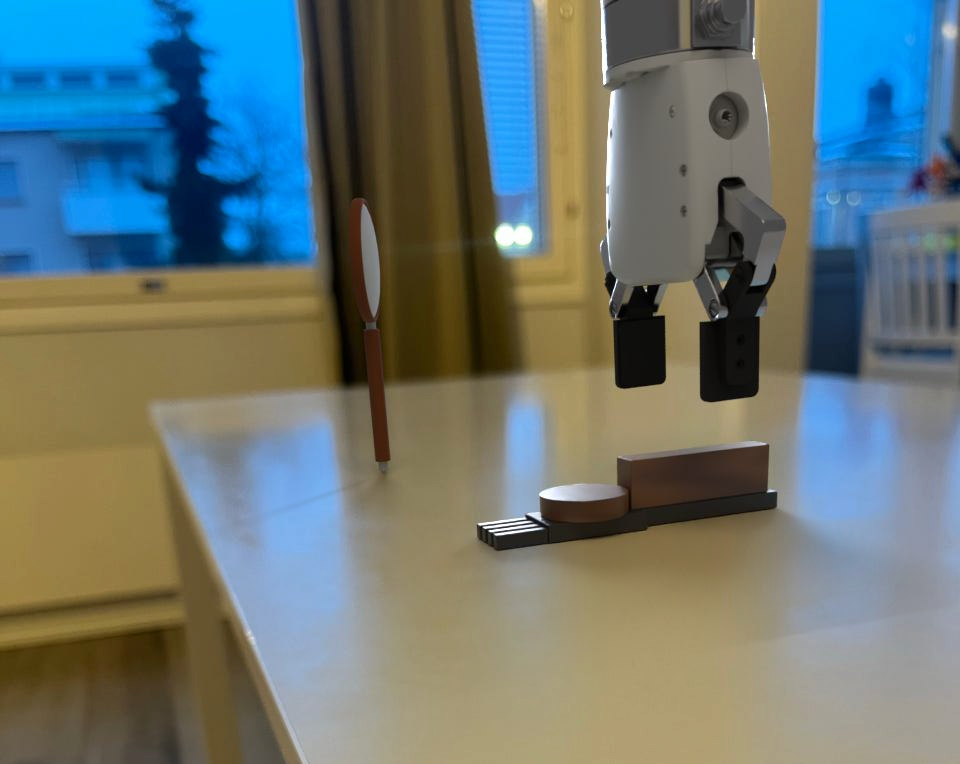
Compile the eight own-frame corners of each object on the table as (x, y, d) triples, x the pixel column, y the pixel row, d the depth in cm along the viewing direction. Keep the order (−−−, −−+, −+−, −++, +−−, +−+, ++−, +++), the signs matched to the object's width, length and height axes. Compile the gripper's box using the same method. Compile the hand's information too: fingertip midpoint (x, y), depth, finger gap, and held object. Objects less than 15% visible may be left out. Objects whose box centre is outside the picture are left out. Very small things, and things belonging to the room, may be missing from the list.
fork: (749, 499, 61) (750, 483, 61) (784, 509, 58) (785, 493, 58) (476, 537, 56) (475, 519, 56) (497, 550, 53) (496, 532, 53)
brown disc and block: (735, 482, 62) (737, 437, 61) (784, 496, 57) (786, 447, 56) (527, 510, 58) (525, 462, 57) (561, 527, 53) (559, 475, 52)
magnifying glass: (387, 483, 74) (361, 191, 67) (364, 484, 74) (336, 193, 67) (401, 464, 82) (379, 202, 76) (381, 464, 82) (357, 203, 76)
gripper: (853, -3, 43) (836, 396, 49) (660, 80, 59) (665, 376, 65) (702, -2, 41) (704, 415, 47) (543, 83, 57) (559, 389, 63)
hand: (681, 392), depth 56 cm, fingers open, 9 cm apart
